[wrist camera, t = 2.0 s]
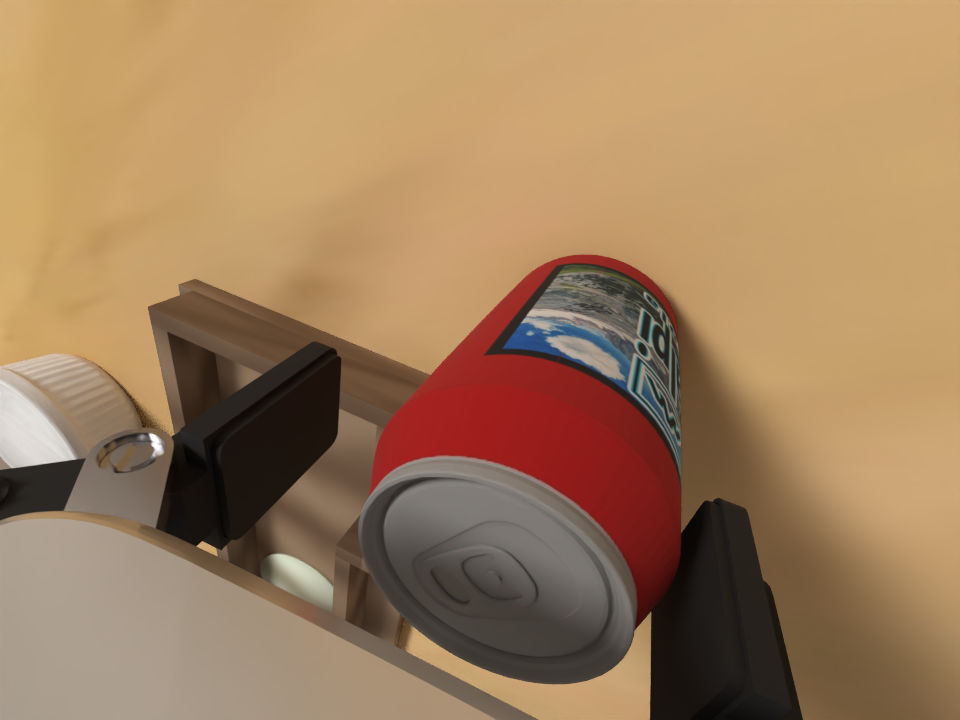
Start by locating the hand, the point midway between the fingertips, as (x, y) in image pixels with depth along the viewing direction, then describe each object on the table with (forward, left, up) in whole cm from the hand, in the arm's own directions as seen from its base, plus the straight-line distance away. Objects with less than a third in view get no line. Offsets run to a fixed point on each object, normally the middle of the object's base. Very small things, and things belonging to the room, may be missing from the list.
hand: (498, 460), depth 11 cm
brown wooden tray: (+12, +19, -9) cm, 24 cm away
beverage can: (-1, 0, -9) cm, 9 cm away
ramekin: (+32, +20, -9) cm, 39 cm away
